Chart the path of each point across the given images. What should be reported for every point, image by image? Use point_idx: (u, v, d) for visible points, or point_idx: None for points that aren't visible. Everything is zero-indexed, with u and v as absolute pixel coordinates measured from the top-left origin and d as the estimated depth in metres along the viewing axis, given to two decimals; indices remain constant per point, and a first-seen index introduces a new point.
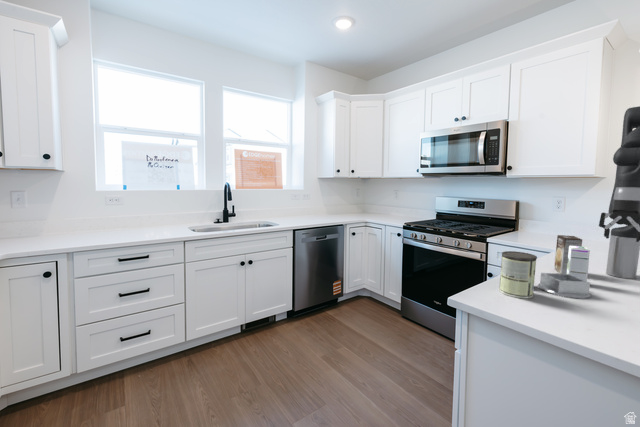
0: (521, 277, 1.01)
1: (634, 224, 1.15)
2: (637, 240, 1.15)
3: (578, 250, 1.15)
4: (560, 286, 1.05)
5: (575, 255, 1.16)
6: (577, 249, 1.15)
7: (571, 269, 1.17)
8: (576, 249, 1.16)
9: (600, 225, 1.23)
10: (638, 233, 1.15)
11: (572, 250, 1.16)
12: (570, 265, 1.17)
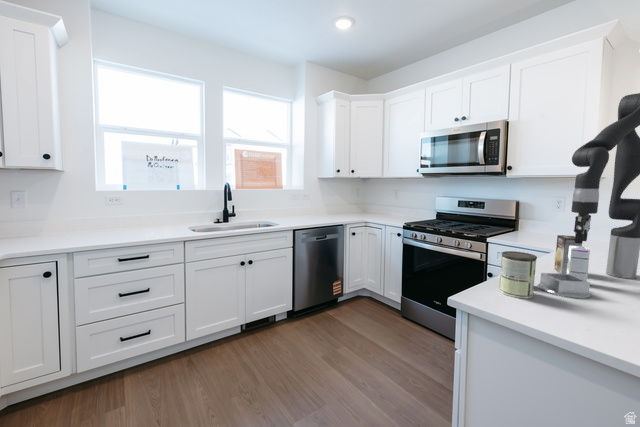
0: (521, 277, 1.01)
1: (589, 225, 1.17)
2: (586, 240, 1.19)
3: (578, 250, 1.15)
4: (560, 286, 1.05)
5: (575, 255, 1.16)
6: (577, 249, 1.15)
7: (571, 269, 1.17)
8: (576, 249, 1.16)
9: (582, 231, 1.11)
10: (587, 233, 1.18)
11: (572, 250, 1.16)
12: (570, 265, 1.17)
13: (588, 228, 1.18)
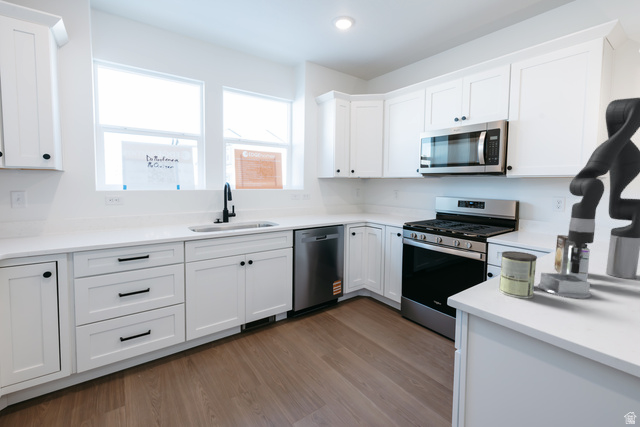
0: (521, 277, 1.01)
1: None
2: None
3: None
4: (560, 286, 1.05)
5: None
6: None
7: None
8: None
9: (579, 262, 1.13)
10: None
11: None
12: (570, 265, 1.17)
13: None
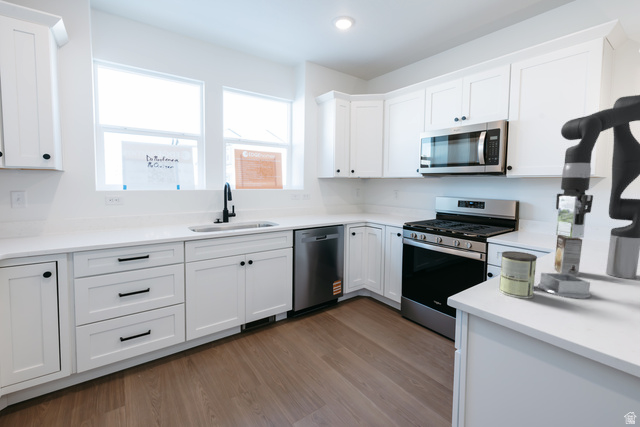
0: (521, 277, 1.01)
1: None
2: None
3: None
4: (560, 286, 1.05)
5: (578, 204, 1.03)
6: None
7: (574, 221, 1.04)
8: None
9: None
10: None
11: (576, 199, 1.03)
12: (574, 216, 1.04)
13: None
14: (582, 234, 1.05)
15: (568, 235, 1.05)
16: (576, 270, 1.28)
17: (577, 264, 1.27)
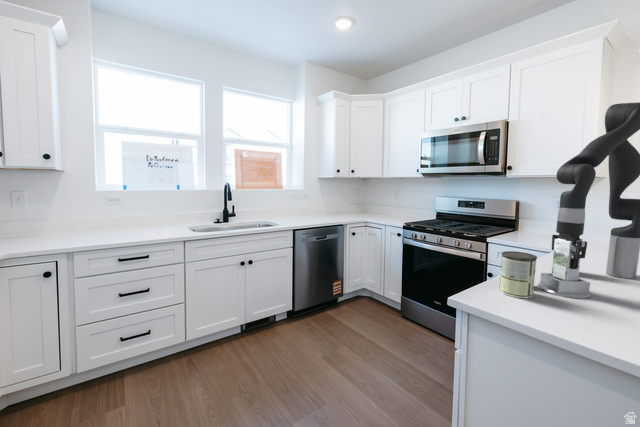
0: (521, 277, 1.01)
1: None
2: None
3: None
4: (560, 286, 1.05)
5: (572, 248, 1.05)
6: None
7: (569, 265, 1.06)
8: None
9: None
10: None
11: (571, 244, 1.05)
12: (568, 261, 1.05)
13: None
14: (576, 277, 1.07)
15: (563, 278, 1.07)
16: None
17: None
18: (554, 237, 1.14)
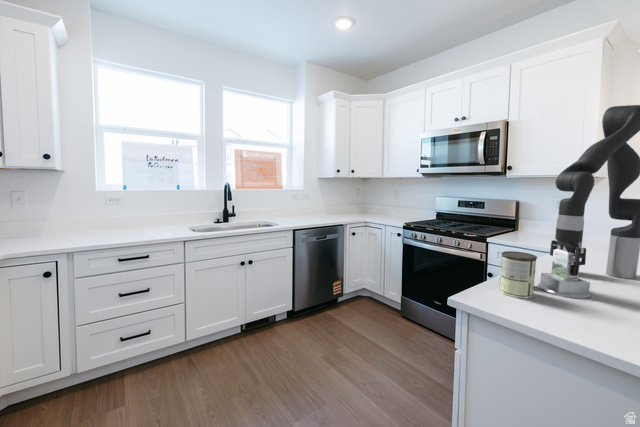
0: (521, 277, 1.01)
1: None
2: None
3: (573, 254, 1.05)
4: (560, 286, 1.05)
5: None
6: (572, 253, 1.05)
7: (567, 276, 1.06)
8: (571, 254, 1.05)
9: None
10: None
11: None
12: (567, 272, 1.06)
13: None
14: None
15: None
16: None
17: None
18: (553, 243, 1.14)
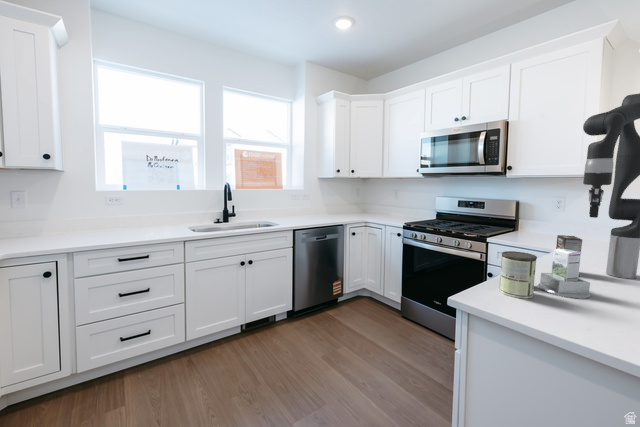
0: (521, 277, 1.01)
1: None
2: None
3: (573, 254, 1.06)
4: (560, 286, 1.05)
5: (571, 260, 1.06)
6: (572, 253, 1.05)
7: (568, 276, 1.06)
8: (572, 254, 1.05)
9: None
10: None
11: (569, 255, 1.05)
12: (567, 272, 1.06)
13: None
14: None
15: None
16: None
17: None
18: (591, 189, 1.14)
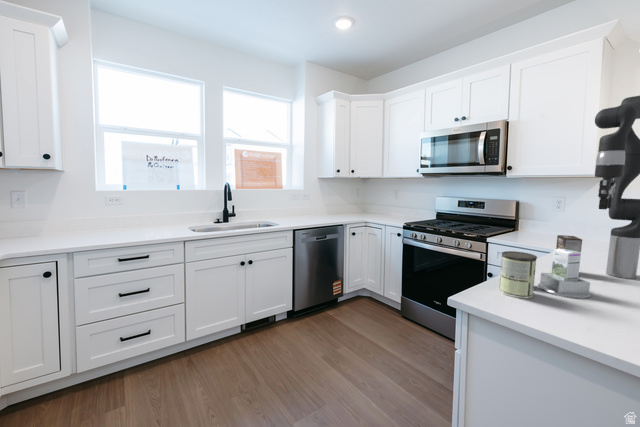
0: (521, 277, 1.01)
1: (614, 190, 1.10)
2: (610, 206, 1.12)
3: (573, 254, 1.06)
4: (560, 286, 1.05)
5: (571, 260, 1.06)
6: (572, 253, 1.05)
7: (568, 276, 1.06)
8: (572, 254, 1.05)
9: (608, 195, 1.05)
10: (611, 199, 1.12)
11: (569, 255, 1.05)
12: (567, 272, 1.06)
13: (612, 194, 1.12)
14: None
15: None
16: None
17: None
18: None
